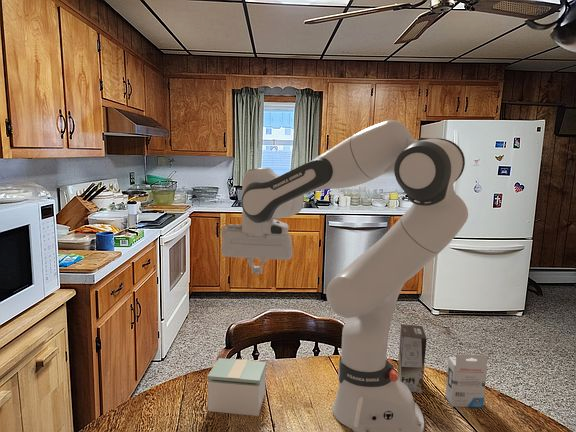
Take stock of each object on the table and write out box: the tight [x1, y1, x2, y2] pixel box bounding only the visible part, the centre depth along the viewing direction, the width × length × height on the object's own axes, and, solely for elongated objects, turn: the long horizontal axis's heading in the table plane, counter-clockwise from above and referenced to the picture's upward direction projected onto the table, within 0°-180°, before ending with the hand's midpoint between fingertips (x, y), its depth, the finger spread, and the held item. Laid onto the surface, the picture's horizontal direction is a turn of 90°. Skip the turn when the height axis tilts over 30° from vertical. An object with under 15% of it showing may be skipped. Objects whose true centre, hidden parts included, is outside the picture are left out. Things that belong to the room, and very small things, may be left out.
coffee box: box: [397, 324, 428, 394], centre depth 115 cm, size 9×6×16 cm
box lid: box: [206, 357, 267, 384], centre depth 104 cm, size 13×10×1 cm
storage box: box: [207, 366, 267, 417], centre depth 105 cm, size 13×10×8 cm
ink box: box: [444, 354, 488, 408], centre depth 107 cm, size 8×5×15 cm, turn 90°
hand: (256, 272), depth 115 cm, fingers closed
